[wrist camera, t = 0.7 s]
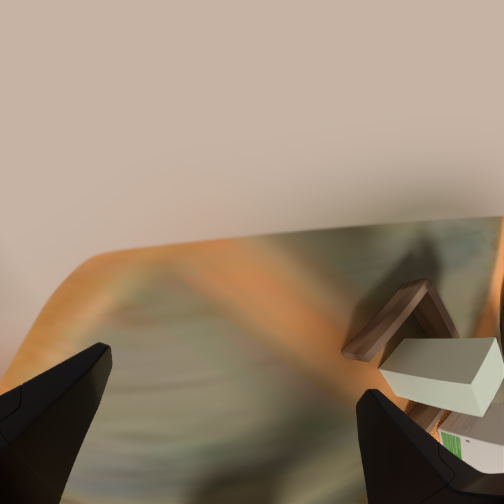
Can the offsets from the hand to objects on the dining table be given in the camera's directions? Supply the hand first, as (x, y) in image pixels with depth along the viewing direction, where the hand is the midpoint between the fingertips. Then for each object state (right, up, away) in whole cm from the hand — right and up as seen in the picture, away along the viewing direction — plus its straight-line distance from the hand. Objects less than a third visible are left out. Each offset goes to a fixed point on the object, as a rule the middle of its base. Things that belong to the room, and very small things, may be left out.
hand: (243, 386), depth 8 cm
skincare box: (+28, -20, +15) cm, 38 cm away
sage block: (+16, -8, +16) cm, 24 cm away
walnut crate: (+16, -8, +16) cm, 24 cm away
